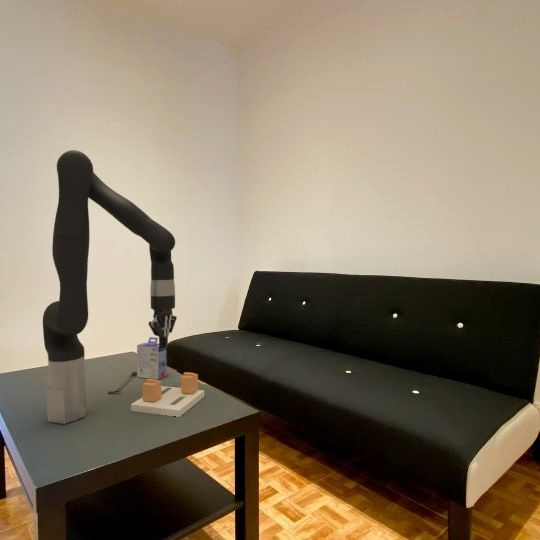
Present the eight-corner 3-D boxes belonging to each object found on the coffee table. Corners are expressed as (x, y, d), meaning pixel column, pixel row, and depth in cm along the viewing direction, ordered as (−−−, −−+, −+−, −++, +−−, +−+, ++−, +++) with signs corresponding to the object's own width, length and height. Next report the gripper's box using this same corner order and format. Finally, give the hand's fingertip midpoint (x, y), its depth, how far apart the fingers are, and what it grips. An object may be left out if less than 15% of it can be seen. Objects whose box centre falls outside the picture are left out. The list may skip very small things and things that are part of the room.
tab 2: (192, 393, 123) (191, 375, 123) (180, 392, 124) (180, 374, 124) (198, 389, 127) (197, 371, 126) (187, 388, 128) (186, 370, 128)
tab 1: (154, 401, 117) (153, 382, 116) (142, 400, 118) (142, 381, 118) (161, 396, 121) (161, 378, 120) (150, 395, 122) (149, 377, 121)
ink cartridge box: (167, 375, 148) (166, 337, 147) (159, 380, 143) (158, 341, 142) (145, 372, 151) (144, 335, 150) (136, 377, 146) (135, 339, 145)
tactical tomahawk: (127, 397, 129) (127, 394, 129) (107, 395, 129) (107, 392, 129) (149, 375, 150) (149, 372, 150) (132, 374, 150) (132, 371, 150)
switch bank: (179, 417, 111) (179, 410, 111) (131, 411, 116) (130, 404, 116) (204, 396, 127) (204, 390, 126) (160, 391, 131) (160, 385, 131)
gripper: (161, 296, 117) (162, 354, 117) (183, 292, 129) (184, 344, 130) (139, 295, 119) (140, 352, 120) (164, 291, 131) (164, 342, 132)
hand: (163, 347), depth 125 cm, fingers closed
